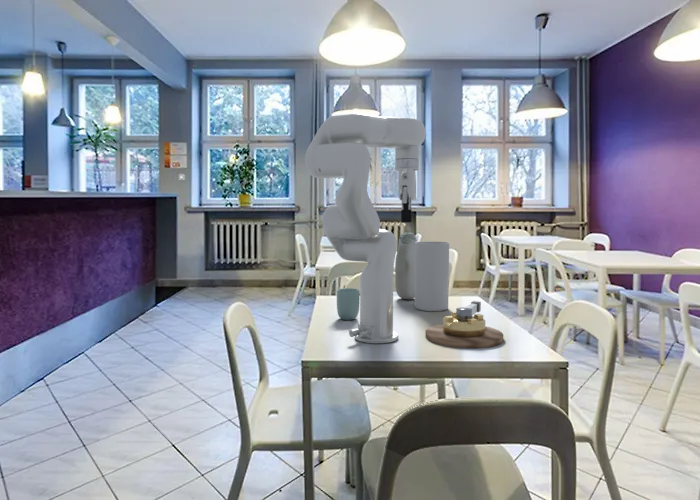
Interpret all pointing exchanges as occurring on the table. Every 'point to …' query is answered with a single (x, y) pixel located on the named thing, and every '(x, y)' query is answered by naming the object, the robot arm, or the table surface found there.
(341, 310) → the cup
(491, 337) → the lever base
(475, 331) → the grey lever
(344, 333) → the table surface
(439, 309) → the cylinder vase
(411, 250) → the glass bottle
